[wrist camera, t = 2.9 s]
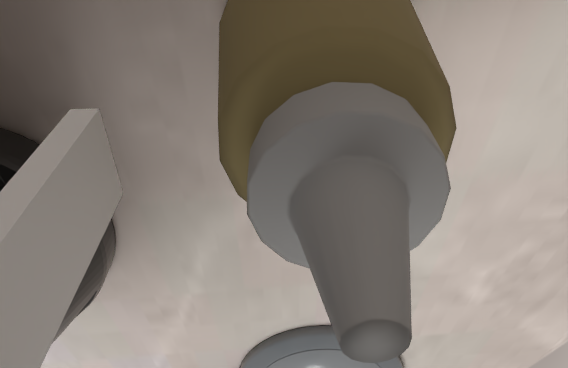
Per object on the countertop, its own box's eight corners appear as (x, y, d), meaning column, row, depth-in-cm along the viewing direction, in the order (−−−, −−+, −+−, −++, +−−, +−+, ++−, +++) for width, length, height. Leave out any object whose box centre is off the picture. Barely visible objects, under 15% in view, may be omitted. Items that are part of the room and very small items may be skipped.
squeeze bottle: (394, -91, 20) (747, 67, 5) (396, 86, 24) (580, 441, 9) (208, -59, 20) (21, 169, 5) (244, 108, 25) (197, 473, 10)
